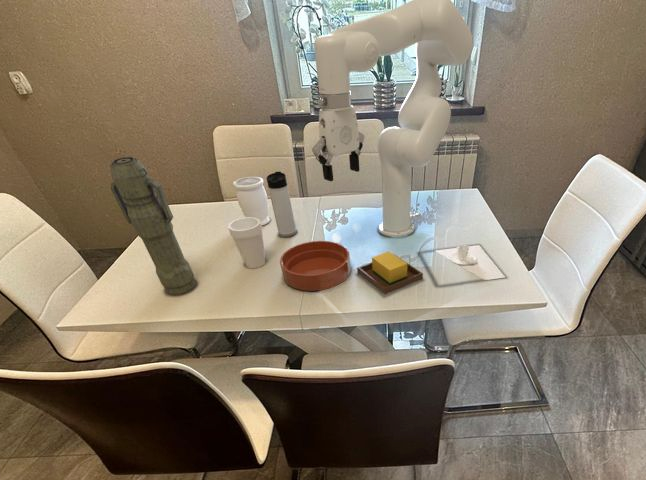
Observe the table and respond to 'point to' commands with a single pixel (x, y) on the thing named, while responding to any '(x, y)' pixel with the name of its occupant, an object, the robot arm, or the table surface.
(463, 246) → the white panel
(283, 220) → the travel mug
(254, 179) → the jar
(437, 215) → the table surface
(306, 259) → the terracotta plant saucer
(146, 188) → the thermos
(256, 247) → the foam cup
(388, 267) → the sponge
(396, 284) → the tray
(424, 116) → the robot arm
